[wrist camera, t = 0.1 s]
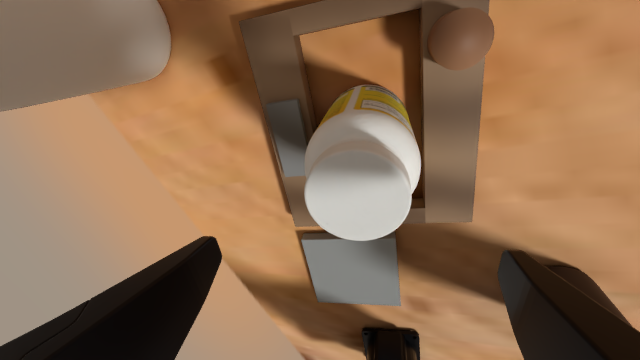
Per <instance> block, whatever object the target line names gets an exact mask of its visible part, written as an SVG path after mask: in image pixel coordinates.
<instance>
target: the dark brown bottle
mask: <svg viewBox="0 0 640 360" xmlns="http://www.w3.org/2000/svg"><path fill="white" fill-rule="evenodd" d="M547 268H548V269H550V270H551V271H552V272H554V273H555V274H557V275H558V276H560V277H561V278H563V279H564V280H565V281H567V282H568V283H570V284H571V285H573V286H574V287H576V288H577V289H578V290H580V291H581V292H583V293H584V294H586V295H587V296H588V297H590V298H591V299H593V300H594V301H596V302H597V303H599V304H600V305H601V306H603V307H604V308H606V309H607V310H609V311H610V312H612V313H613V314H614V315H616V316H617V317H619V318H620V319H622V320H623V321H625V322H626V323H627V324H629V325H630V326H631V324H630V323H629V322H628V321H627V320H626V318H625V317H624V316H623V315H622V314H621V312H620V311H619V310H618V309H617V308H616V307H615V305H614V304H613V303H612V302H611V301H610V299H609V298H608V297H607V296H606V295H605V293H604V292H603V291H602V290H601V289H600V287H599V286H598V285H597V284H596V283H595V282H594V281H593V280H592V279H591V278H590V277H589V276H588V275H587V274H585V273H584V272H581V271H579V270H576V269H574V268H569V267H562V266H550V267H547Z"/></svg>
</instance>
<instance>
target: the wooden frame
mask: <svg viewBox="0 0 640 360" xmlns="http://www.w3.org/2000/svg"><path fill="white" fill-rule="evenodd" d="M417 9H419V18H420V71H421V123H422V176H423V198H419V199H412V200H411V207H410V210H409V213H408V215H407V217H406V218H405V220H404V221H403V223H402V224H415V223H452V222H472V217H473V204H474V192H475V179H476V166H477V153H478V140H479V128H480V115H481V102H482V89H483V76H484V64H485V55H486V54H487V52H488V51H489V49H490V47H491V45H492V42H493V38H494V26H493V22H492V20H491V18H490V17H489V15H488V12H489V0H324V1H320V2H316V3H311V4H307V5H303V6H299V7H295V8H291V9H287V10H283V11H279V12H275V13H271V14H267V15H263V16H259V17H255V18H251V19H247V20H243V21H239V25H240V28H241V32H242V35H243V39H244V43H245V46H246V50H247V54H248V57H249V61H250V64H251V68H252V72H253V75H254V79H255V83H256V86H257V90H258V93H259V97H260V101H261V104H262V108H263V112H264V115H265V119H266V122H267V126H268V130H269V133H270V137H271V140H272V144H273V148H274V151H275V155H276V159H277V162H278V166H279V169H280V173H281V177H282V180H283V184H284V188H285V191H286V195H287V198H288V202H289V206H290V209H291V213H292V216H293V220H294V224H295V227H305V226H320V225H318V224H317V223H316V221H315V220H314V219H313V218H312V216H311V215H310V213H309V211H308V209H307V206H306V203H305V197H304V188H305V183H306V179H307V178H306V175H305V153H306V149H307V147H308V144H309V141H310V139H311V137H312V136H313V134H314V132H315V131H316V129H317V125H316V120H315V115H314V110H313V104H312V99H311V94H310V89H309V84H308V79H307V74H306V68H305V63H304V58H303V53H302V48H301V43H300V37H299V35H303V34H307V33H312V32H316V31H321V30H326V29H330V28H335V27H339V26H344V25H349V24H353V23H358V22H362V21H367V20H371V19H376V18H381V17H385V16H390V15H394V14H399V13H403V12H408V11H413V10H417Z"/></svg>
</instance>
